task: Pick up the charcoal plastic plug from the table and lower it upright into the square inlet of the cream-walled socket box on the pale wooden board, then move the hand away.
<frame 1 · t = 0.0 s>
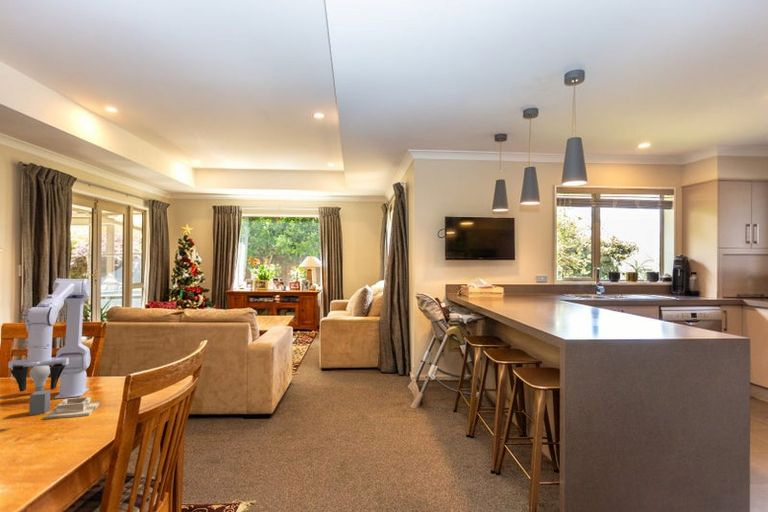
hand: (38, 389, 123), 10 cm above the table, tool pointing down, fingers open, 7 cm apart
plug: (39, 412, 131), on the table
lightbulb: (39, 393, 151), on the table
holder box: (73, 411, 133), on the table
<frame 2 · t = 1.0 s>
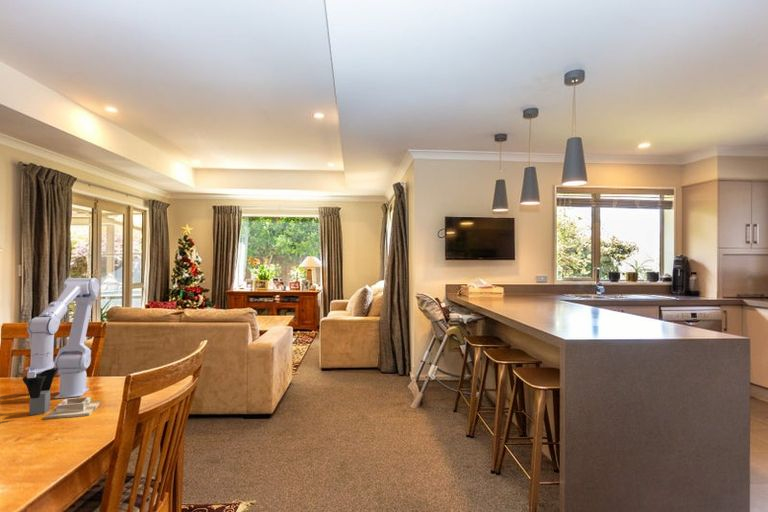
hand: (40, 394, 132), 6 cm above the table, tool pointing down, fingers open, 7 cm apart
nothing on the table moved.
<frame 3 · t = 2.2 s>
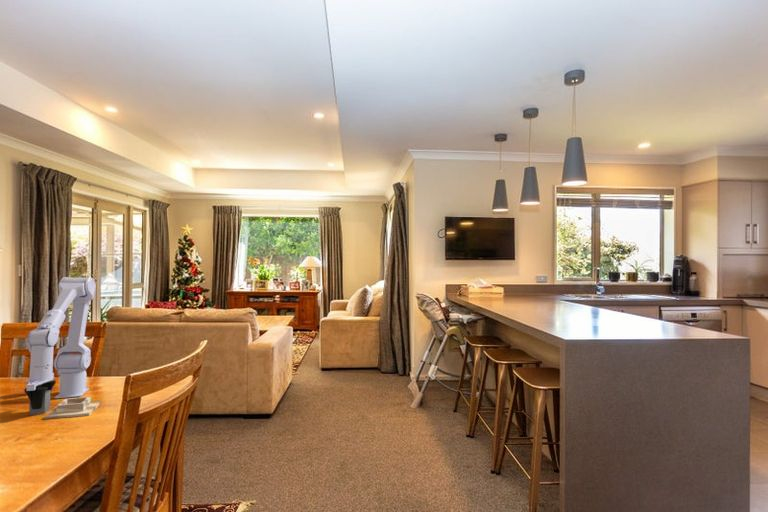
hand: (39, 406, 132), 2 cm above the table, tool pointing down, fingers closed on plug, 4 cm apart
plug: (39, 412, 131), on the table, touching gripper
everything else where it was.
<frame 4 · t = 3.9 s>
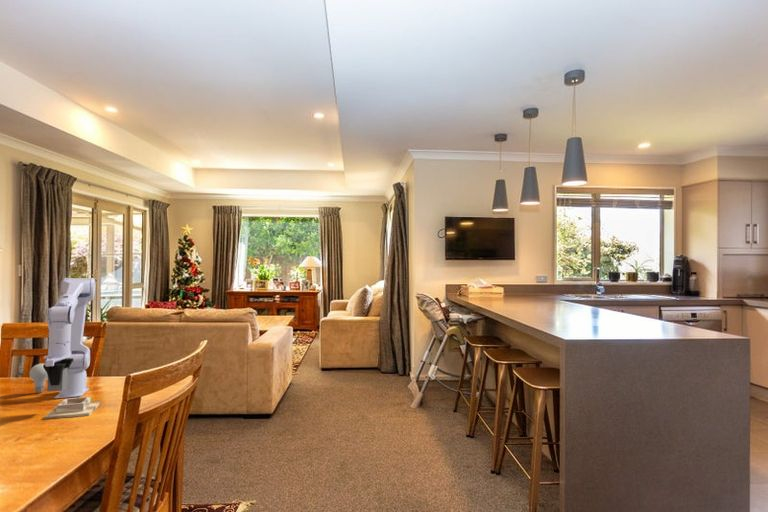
hand: (58, 383, 132), 9 cm above the table, tool pointing down, fingers closed on plug, 4 cm apart
plug: (57, 389, 132), point 7 cm above the table, touching gripper
everything else where it was.
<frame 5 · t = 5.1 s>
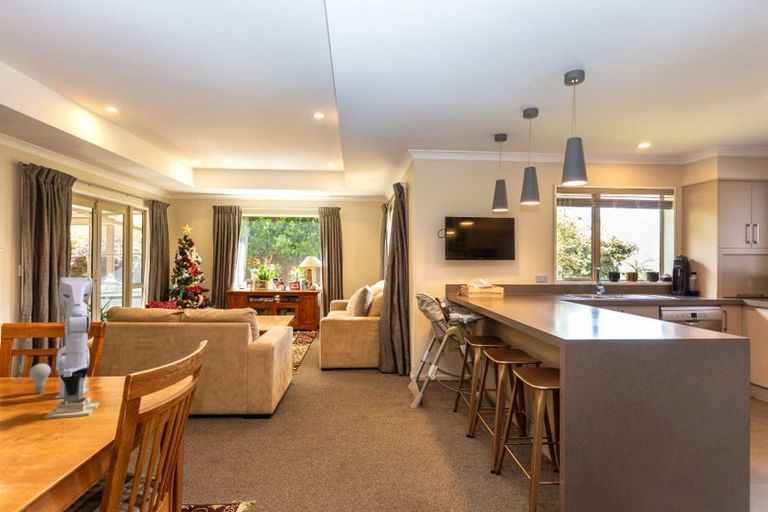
hand: (74, 393, 133), 6 cm above the table, tool pointing down, fingers closed on plug, 4 cm apart
plug: (73, 399, 133), point 4 cm above the table, touching gripper
everything else where it was.
when the fingers open (4 cm above the table, at t = 5.9 s): plug drops 1 cm, resting on holder box.
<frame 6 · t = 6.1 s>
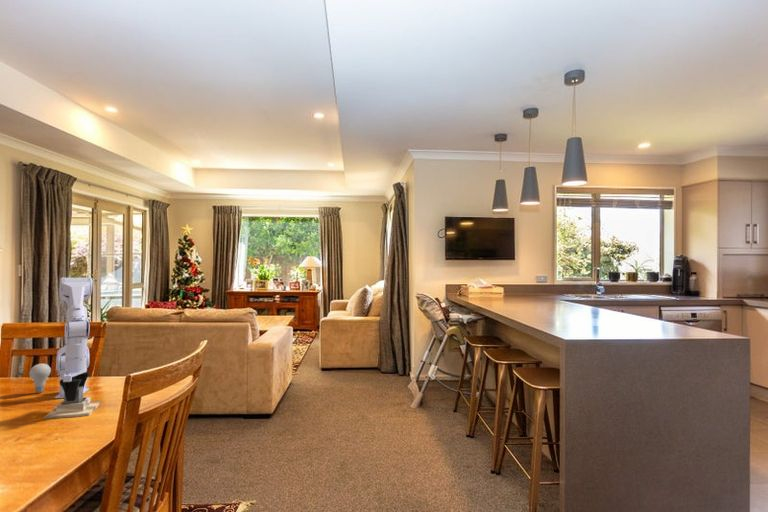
hand: (74, 397, 133), 4 cm above the table, tool pointing down, fingers open, 5 cm apart
plug: (73, 408, 133), point 1 cm above the table, touching holder box
everything else where it was.
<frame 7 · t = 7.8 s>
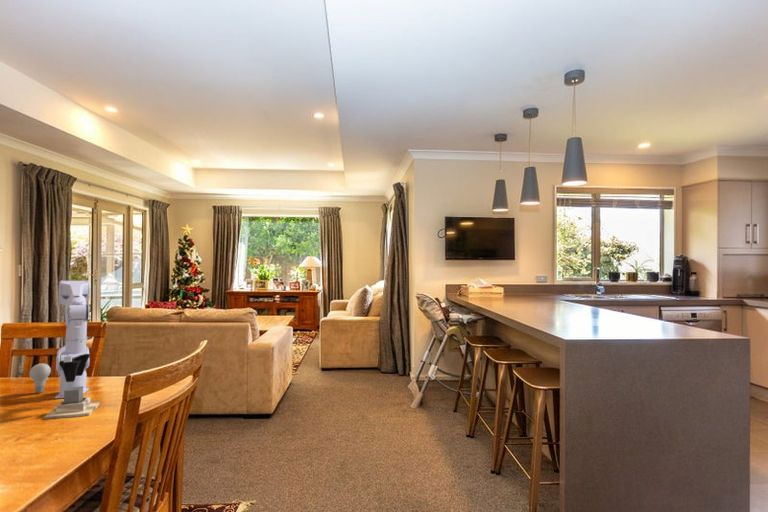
hand: (74, 378, 138), 9 cm above the table, tool pointing down, fingers open, 7 cm apart
nothing on the table moved.
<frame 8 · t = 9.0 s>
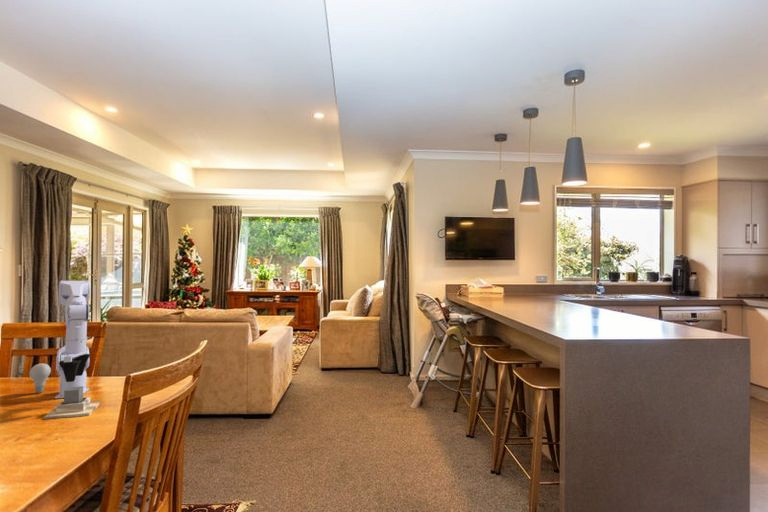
hand: (74, 378, 138), 9 cm above the table, tool pointing down, fingers open, 7 cm apart
nothing on the table moved.
at the end: plug 0.2 cm off-centre on the holder box, point 1.0 cm above the holder box's base; plug tilted 0°; the gripper is holding nothing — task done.
